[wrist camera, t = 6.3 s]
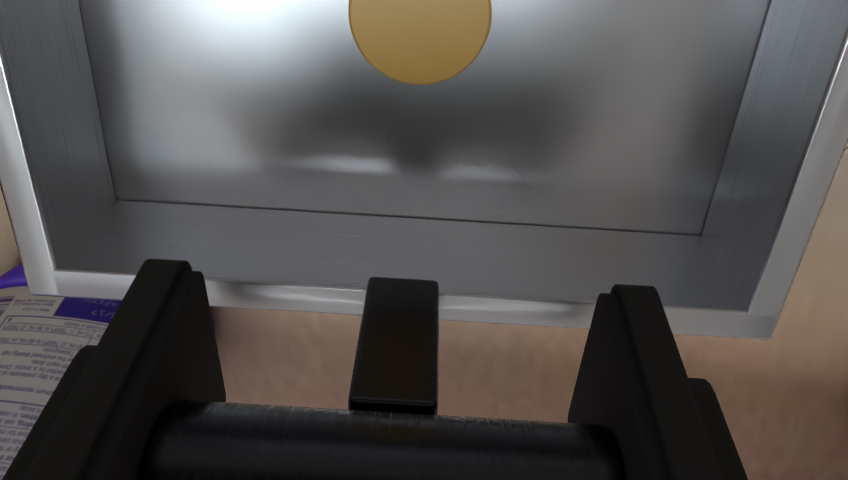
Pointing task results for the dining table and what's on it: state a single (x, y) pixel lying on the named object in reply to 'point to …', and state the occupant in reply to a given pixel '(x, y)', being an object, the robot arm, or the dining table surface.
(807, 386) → the dining table surface
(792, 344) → the dining table surface
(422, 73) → the key
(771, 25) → the tray
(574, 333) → the dining table surface
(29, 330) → the bottle
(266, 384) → the dining table surface
